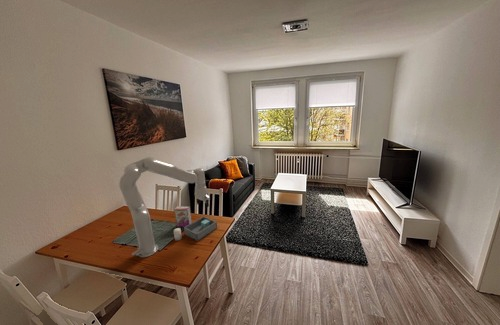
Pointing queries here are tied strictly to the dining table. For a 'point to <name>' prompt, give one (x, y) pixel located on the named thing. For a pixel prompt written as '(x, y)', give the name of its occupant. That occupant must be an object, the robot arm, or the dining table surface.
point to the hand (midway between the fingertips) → (202, 205)
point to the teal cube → (205, 224)
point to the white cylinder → (177, 234)
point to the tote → (199, 229)
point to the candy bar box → (182, 216)
